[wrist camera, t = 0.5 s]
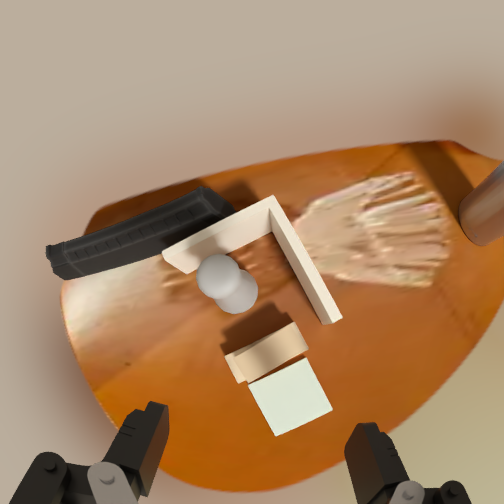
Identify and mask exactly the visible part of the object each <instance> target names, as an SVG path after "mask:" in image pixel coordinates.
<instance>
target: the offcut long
mask: <svg viewBox="0 0 504 504" xmlns="http://www.w3.org/2000/svg"><path fill="white" fill-rule="evenodd" d="M290 325H291V326H292V328H293V329H294V331H295V333H296V334H297V336H298V337H299V339H300V340H301V342H302V343H303V345H304V346H305V348H306V349H305V350H303V351H302V352H304V351H306V350H308V349H309V348H308V346H307V344H306V343H305V341H304V339H303V337H302V335H301V333H300V331H299V329H298V327H297V326H296V324H295V322H293V323H291V324H290ZM285 327H286V326H285ZM283 328H284V327H283ZM283 328H281V329H283ZM281 329H279V330H281ZM279 330H277V331H276V332H278V331H279ZM276 332H274V333H272V334H270V335H268V336H266V337H264V338H262V339H260V340H258V341H256V342H254V343H251V344H249V345H247V346H245V347H243V348H241V349H239V350H237V351H235V352H233V353H230V354H228V355H226V356H224V357H225V359H226V361H227V363H228V365H229V367H230V369H231V371H232V373H233V375H234V377H235V378H236V380H237V382H238V383H240V382H243V381H245V380H246V379H245V377H244V376H243V374H242V373H241V371H240V369H239V368H238V366H237V365H236V363H235V361H234V360H233V358H235V357H236V356H238V355H240V354H241V353H243V352H245V351H247V350H248V349H250V348H252V347H253V346H255V345H257V344H258V343H260V342H262V341H263V340H265V339H267V338H268V337H270V336H271V335H273V334H275V333H276ZM302 352H300V353H302ZM300 353H299V354H300ZM297 355H298V354H297ZM297 355H296V356H297ZM294 357H295V356H294ZM292 358H293V357H292Z"/></svg>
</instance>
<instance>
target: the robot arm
mask: <svg viewBox="0 0 504 504" xmlns="http://www.w3.org/2000/svg"><path fill="white" fill-rule="evenodd" d="M459 220H460V224H461V227H462V229H463V231H464V232H465V234H466V236H467V237H468V238H469V239H470V240H471V241H472V242H473V243H475V244H477V245H479V246H486V245H488V244H490V243H491V242H493V241H495V240H497V239H498V238H500V237H502V236H504V161H503V162H502V163H501V164H500V165H499V166H498V167H497V168H496V169H495V170H494V171H493V172H492V173H491V174H490V175H489V176H488V177H487V178H486V179H485V180H484V181H482V182H481V183H480V184H479V185H478V186H477V187H476V188H475V189H474V190H473V191H472V192H471V193H470V194H468V195H467V196H466V197H465V198H464V199H463V200H462V201H461V203H460V205H459ZM168 435H169V413H168V405H164V404H160V403H156V402H152V401H150V402H149V403H148V405H147V407H146V409H145V411H141V410H138V409H135V410H134V411H133V412H131V413H130V414H129V415H127V417H126V419H125V420H124V422H123V424H122V426H121V428H120V430H119V433H117V435H116V437H115V439H114V441H113V442H112V445H111V446H110V448H109V450H108V452H107V454H106V456H105V457H104V459H103V460H102V461H101V462H98V463H95V464H94V465H92V466H82V465H76V464H71V463H66V462H65V461H64V459H63V458H62V457H61V456H59V455H58V454H56V453H53V452H44V453H40V454H39V455H38V456H37V457H36V458H35V459H34V461H33V463H32V464H31V466H30V468H29V469H28V471H27V473H26V474H25V476H24V478H23V479H22V481H21V483H20V484H19V486H18V488H17V490H16V492H15V493H14V495H13V497H12V499H11V501H10V503H9V504H138V499H139V497H140V495H142V496H145V497H148V495H149V491H150V489H151V486H152V483H153V480H154V477H155V474H156V471H157V468H158V465H159V463H160V460H161V457H162V454H163V451H164V448H165V445H166V443H167V440H168ZM344 454H345V459H346V462H347V466H348V469H349V473H350V477H351V481H352V484H353V488H354V492H355V495H356V499H357V503H358V504H471V501H470V499H469V497H468V494H467V493H466V490H465V488H464V486H463V485H462V484H461V483H460V482H457V481H448V482H446V483H444V484H443V485H442V486H441V487H440V488H423V487H422V486H421V485H420V484H419V483H417V482H415V481H410V479H409V477H408V475H407V472H406V470H405V468H404V466H403V464H402V461H401V459H400V457H399V456H398V452H397V450H396V449H395V446H394V444H393V442H392V439H391V438H390V437H389V436H388V435H387V434H386V433H385V432H380V431H379V429H378V426H377V424H376V423H375V422H370V423H358V424H357V425H356V427H355V429H354V431H353V432H352V434H351V436H350V438H349V440H348V441H347V443H346V445H345V450H344Z"/></svg>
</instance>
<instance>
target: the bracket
mask: <svg viewBox="0 0 504 504" xmlns="http://www.w3.org/2000/svg"><path fill="white" fill-rule="evenodd" d="M270 232H273V234H274V236H275V238H276V239H277V241H278V243H279V245H280V247H281V248H282V250H283V252H284V254H285V256H286V258H287V259H288V261H289V263H290V265H291V267H292V269H293V270H294V272H295V274H296V276H297V278H298V280H299V282H300V283H301V285H302V287H303V289H304V291H305V293H306V295H307V296H308V298H309V300H310V302H311V304H312V306H313V308H314V310H315V312H316V314H317V315H318V317H319V319H320V321H321V323H322V325H326V324H331V323H334V322H336V321H338V320H339V319H341V318H343V317H342V315H341V314H340V312H339V310H338V308H337V306H336V304H335V302H334V300H333V298H332V297H331V295H330V293H329V291H328V289H327V287H326V286H325V284H324V282H323V280H322V278H321V276H320V275H319V273H318V271H317V269H316V267H315V266H314V264H313V262H312V260H311V258H310V257H309V255H308V253H307V251H306V250H305V248H304V246H303V244H302V243H301V241H300V239H299V237H298V236H297V234H296V232H295V230H294V229H293V227H292V225H291V224H290V222H289V220H288V218H287V217H286V215H285V213H284V212H283V210H282V208H281V207H280V205H279V203H278V202H277V200H276V198H275V197H274V195H272V196H270V197H268V198H266V199H264V200H261V201H259V202H257V203H255V204H253V205H251V206H249V207H247V208H245V209H243V210H241V211H239V212H237V213H235V214H233V215H231V216H229V217H227V218H225V219H223V220H221V221H219V222H217V223H215V224H213V225H211V226H209V227H207V228H205V229H203V230H201V231H199V232H198V233H196V234H194V235H192V236H190V237H188V238H186V239H184V240H182V241H180V242H178V243H177V244H175V245H173V246H171V247H169V248H167V249H165V250H163V251H162V254H163V257H164V259H165V261H167V262H168V263H170V264H172V265H173V266H175V267H176V268H178V269H179V270H181V271H182V272H184V273H186V274H188V273H190V272H192V271H194V270H196V269H197V268H198V267H199V265H200V264H201V262H202V261H203V260H204V259H206V258H207V257H208V256H210V255H215V254H222V255H226V254H228V253H230V252H232V251H234V250H236V249H238V248H240V247H242V246H244V245H246V244H248V243H250V242H252V241H254V240H256V239H258V238H260V237H262V236H264V235H266V234H268V233H270Z"/></svg>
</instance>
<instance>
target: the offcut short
mask: <svg viewBox="0 0 504 504" xmlns="http://www.w3.org/2000/svg"><path fill="white" fill-rule="evenodd" d="M305 349H306V348H305V346H304V345H303V343H302V342H301V340H300V339H299V337H298V336H297V334H296V333H295V331H294V329H293V328H292V326H291V325H290V324H289V325H287V326H286V327H284V328H283V329H281V330H279V331H278V332H276V333H275V334H273V335H271V336H270V337H268V338H267V339H265V340H263V341H262V342H260V343H258V344H257V345H255V346H253V347H252V348H250V349H248V350H247V351H245V352H243V353H241V354H240V355H238V356H236V357H235V358H233V360H234V361H235V363H236V365H237V366H238V368H239V369H240V371H241V373H242V374H243V376H244V377H245V379H246V380H247V382H248V383H250V382H252V381H254V380H255V379H257V378H259V377H261V376H262V375H264V374H266V373H268V372H269V371H271V370H273V369H274V368H276V367H278V366H279V365H281V364H283V363H284V362H286V361H288V360H289V359H291V358H292V357H294V356H296V355H297V354H299V353H300V352H302V351H303V350H305Z"/></svg>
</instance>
